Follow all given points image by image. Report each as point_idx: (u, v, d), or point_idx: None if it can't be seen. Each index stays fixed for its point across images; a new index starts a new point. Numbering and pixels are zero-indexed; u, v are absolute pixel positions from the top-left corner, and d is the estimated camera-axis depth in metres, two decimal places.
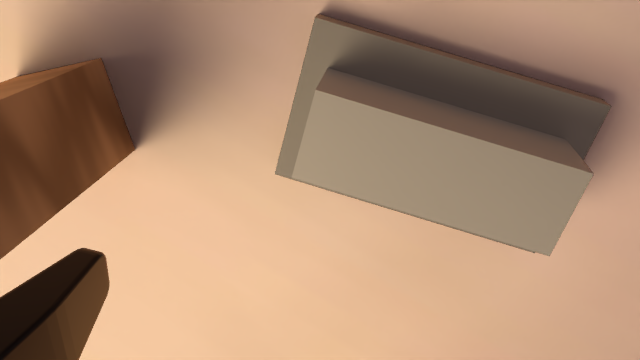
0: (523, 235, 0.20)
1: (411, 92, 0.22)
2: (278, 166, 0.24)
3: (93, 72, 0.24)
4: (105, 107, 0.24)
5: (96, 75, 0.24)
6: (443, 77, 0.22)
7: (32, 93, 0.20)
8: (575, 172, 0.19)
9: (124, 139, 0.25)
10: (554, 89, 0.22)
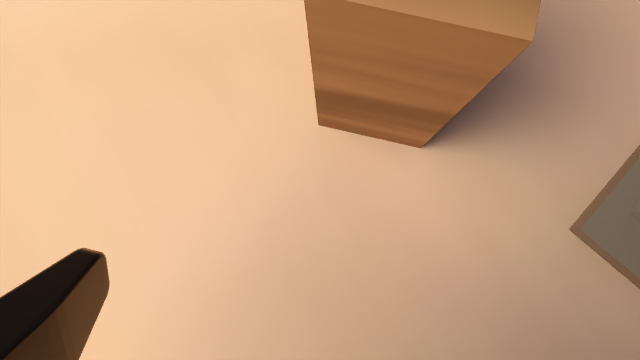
0: None
1: None
2: (587, 222, 0.22)
3: None
4: None
5: None
6: None
7: None
8: None
9: None
10: None
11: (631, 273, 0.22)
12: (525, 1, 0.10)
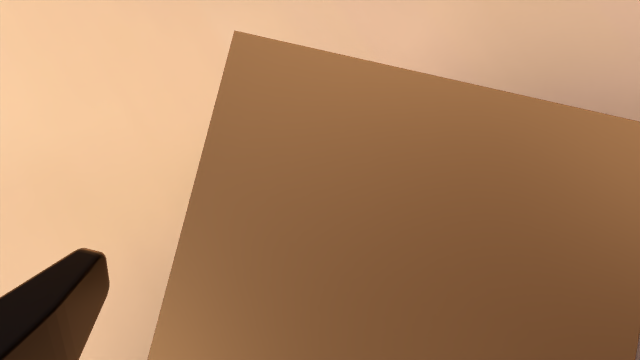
0: None
1: None
2: None
3: None
4: None
5: None
6: None
7: None
8: None
9: None
10: None
11: None
12: None
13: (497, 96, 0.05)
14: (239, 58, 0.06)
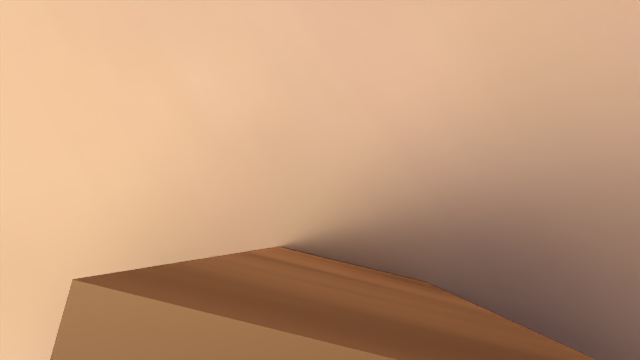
0: None
1: None
2: None
3: None
4: None
5: None
6: None
7: None
8: None
9: None
10: None
11: None
12: None
13: None
14: (79, 329, 0.03)
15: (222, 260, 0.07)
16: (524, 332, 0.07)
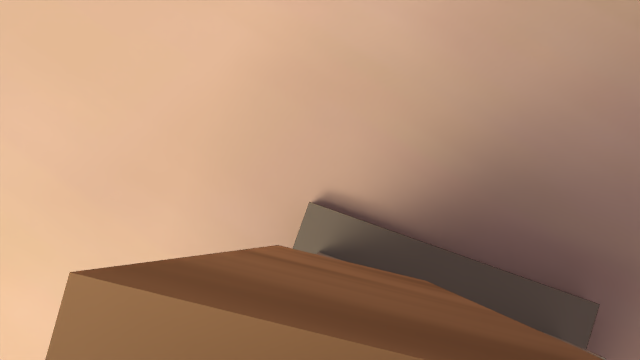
0: None
1: None
2: None
3: None
4: None
5: None
6: (434, 267, 0.22)
7: None
8: None
9: None
10: (542, 284, 0.22)
11: None
12: None
13: None
14: (77, 322, 0.03)
15: (221, 257, 0.07)
16: (522, 328, 0.07)
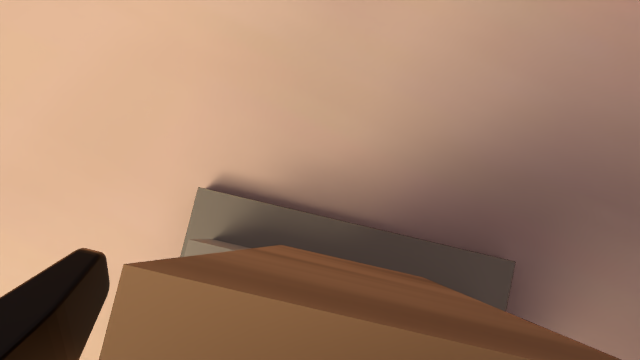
0: None
1: None
2: None
3: None
4: None
5: None
6: (337, 242, 0.20)
7: None
8: None
9: None
10: (453, 247, 0.20)
11: None
12: None
13: (486, 358, 0.04)
14: (130, 304, 0.04)
15: (234, 254, 0.08)
16: (506, 316, 0.08)
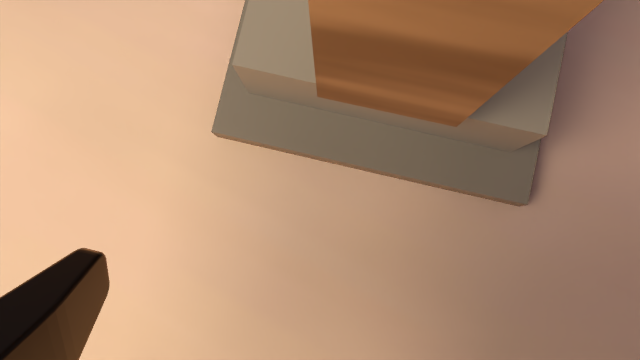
0: (511, 110, 0.17)
1: None
2: (216, 122, 0.21)
3: None
4: None
5: None
6: None
7: None
8: None
9: None
10: None
11: (279, 147, 0.21)
12: None
13: None
14: None
15: None
16: None
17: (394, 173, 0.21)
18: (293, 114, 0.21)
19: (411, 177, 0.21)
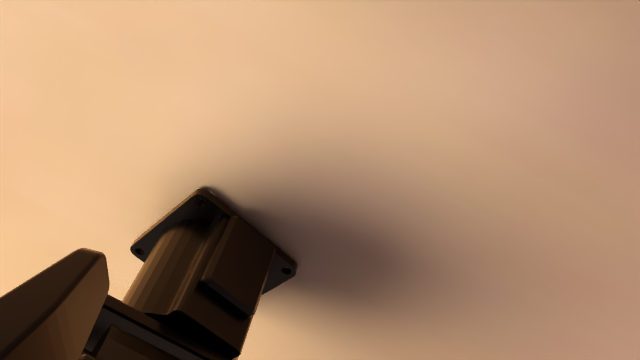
0: None
1: None
2: None
3: None
4: None
5: None
6: None
7: None
8: None
9: None
10: None
11: None
12: None
13: None
14: None
15: None
16: None
17: None
18: None
19: None
